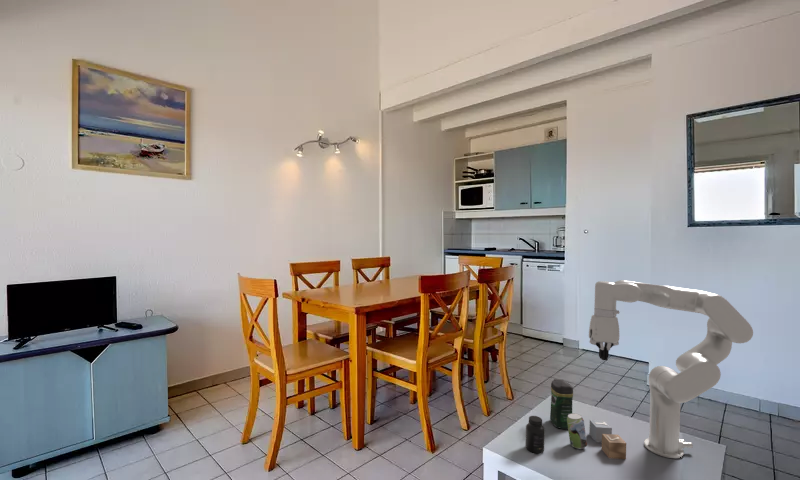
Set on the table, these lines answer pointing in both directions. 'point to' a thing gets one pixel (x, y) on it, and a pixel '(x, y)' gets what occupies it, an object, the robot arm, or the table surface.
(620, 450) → the walnut digit block
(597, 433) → the slate digit block
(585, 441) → the beverage can
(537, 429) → the supplement bottle
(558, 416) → the coffee jar
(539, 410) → the table surface
